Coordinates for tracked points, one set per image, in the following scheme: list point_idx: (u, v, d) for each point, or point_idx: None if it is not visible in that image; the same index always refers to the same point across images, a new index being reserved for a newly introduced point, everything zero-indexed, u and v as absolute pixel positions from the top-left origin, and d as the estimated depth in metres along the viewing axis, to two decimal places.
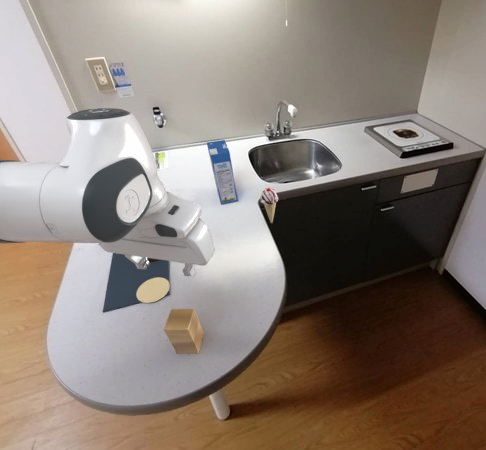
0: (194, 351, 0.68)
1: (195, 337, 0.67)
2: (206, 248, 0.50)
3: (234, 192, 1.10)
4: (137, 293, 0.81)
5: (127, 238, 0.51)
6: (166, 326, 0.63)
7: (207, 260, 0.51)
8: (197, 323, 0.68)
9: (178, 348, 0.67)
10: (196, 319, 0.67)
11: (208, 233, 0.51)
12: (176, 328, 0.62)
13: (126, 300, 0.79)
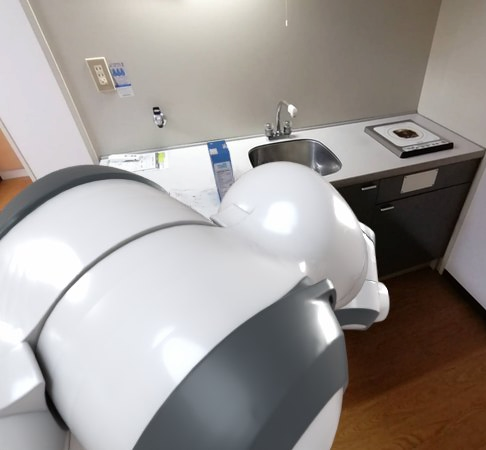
0: None
1: None
2: None
3: None
4: None
5: None
6: None
7: None
8: None
9: None
10: None
11: None
12: None
13: None
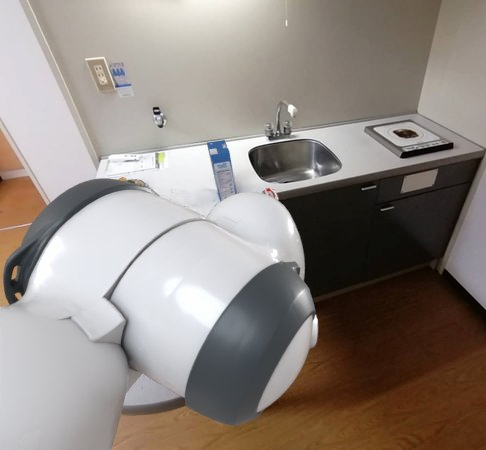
0: None
1: None
2: None
3: (234, 192, 1.10)
4: None
5: None
6: None
7: None
8: None
9: None
10: None
11: None
12: None
13: None
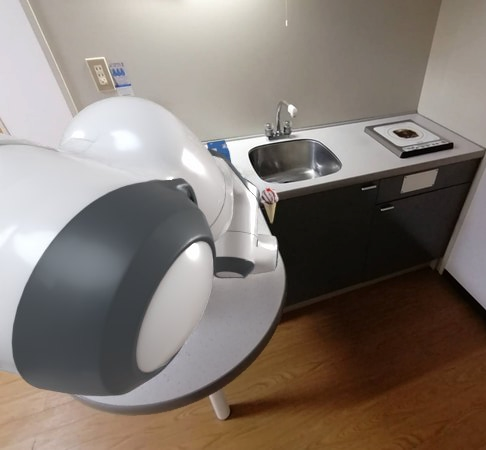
0: None
1: None
2: None
3: None
4: None
5: None
6: None
7: None
8: None
9: None
10: None
11: None
12: None
13: None
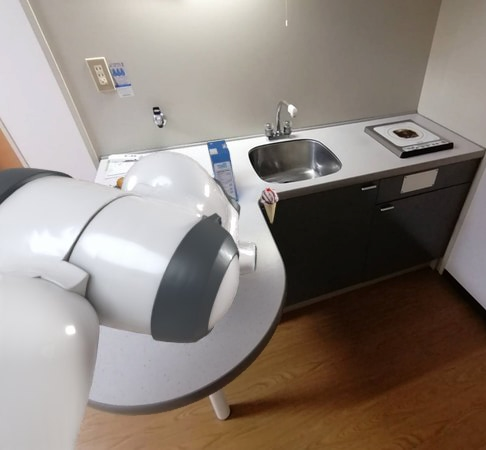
0: None
1: None
2: None
3: (234, 192, 1.10)
4: None
5: None
6: None
7: None
8: None
9: None
10: None
11: None
12: None
13: None
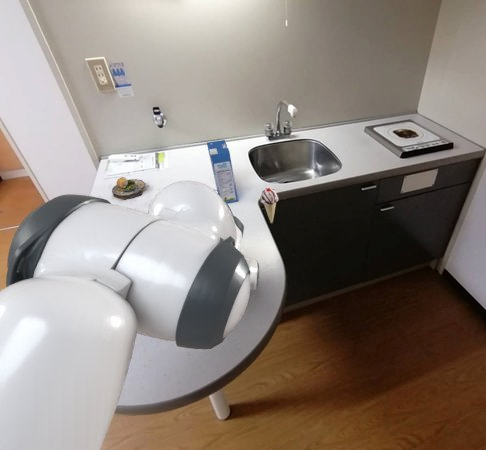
0: None
1: None
2: None
3: (234, 192, 1.10)
4: None
5: None
6: None
7: None
8: None
9: None
10: None
11: None
12: None
13: None
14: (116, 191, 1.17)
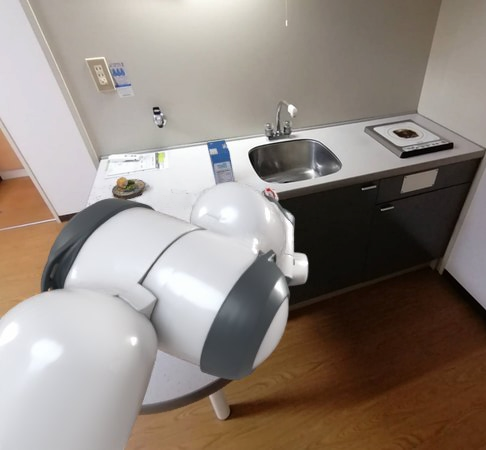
0: None
1: None
2: None
3: None
4: None
5: None
6: None
7: None
8: None
9: None
10: None
11: None
12: None
13: None
14: (116, 191, 1.17)
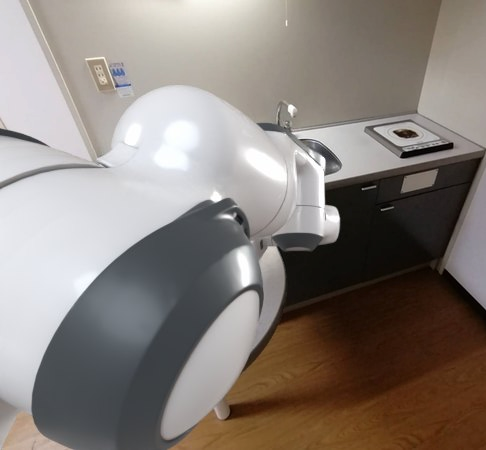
0: None
1: None
2: None
3: None
4: None
5: None
6: None
7: None
8: None
9: None
10: None
11: None
12: None
13: None
14: None
